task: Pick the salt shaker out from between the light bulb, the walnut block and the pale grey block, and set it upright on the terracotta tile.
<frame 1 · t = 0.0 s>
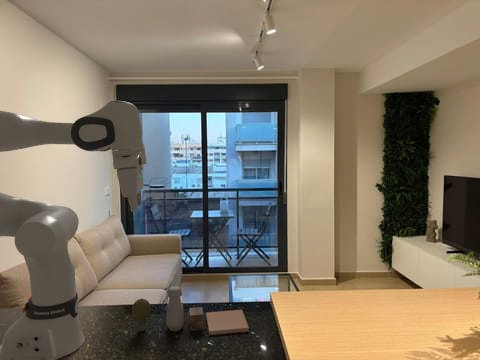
hand: (136, 208, 102), 39 cm above the countertop, tool pointing down, fingers open, 8 cm apart
pale grey block: (175, 314, 121), on the countertop
walnut block: (196, 326, 113), on the countertop
salt shaker: (175, 328, 112), on the countertop
light bulb: (142, 331, 110), on the countertop
terracotta tile: (226, 323, 114), on the countertop
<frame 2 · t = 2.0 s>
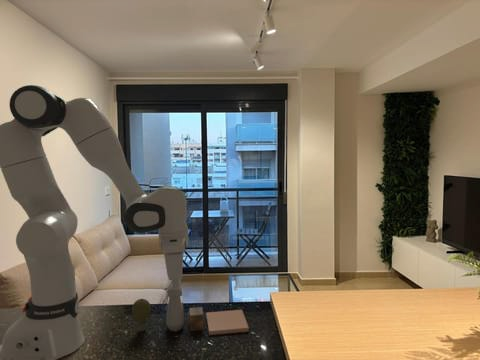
hand: (176, 283, 110), 14 cm above the countertop, tool pointing down, fingers open, 8 cm apart
nothing on the countertop moved.
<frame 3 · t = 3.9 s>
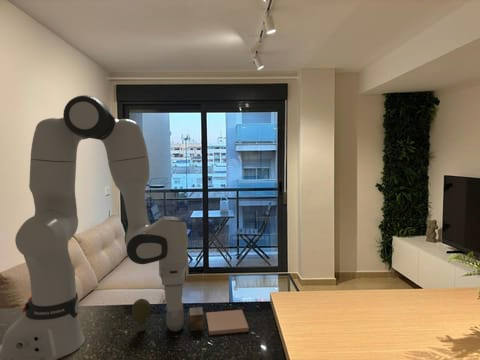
hand: (174, 312, 111), 5 cm above the countertop, tool pointing down, fingers closed on salt shaker, 3 cm apart
salt shaker: (175, 328, 112), on the countertop, touching gripper
everything else where it was.
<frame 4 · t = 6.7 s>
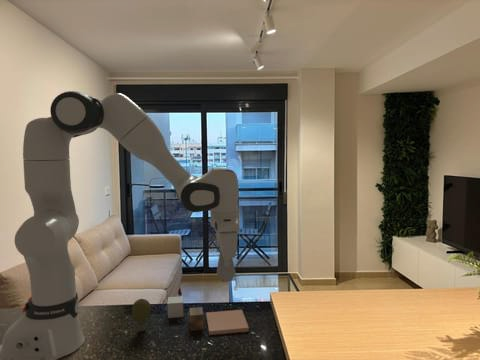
hand: (225, 263, 112), 20 cm above the countertop, tool pointing down, fingers closed on salt shaker, 3 cm apart
salt shaker: (226, 280, 113), point 14 cm above the countertop, touching gripper
everything else where it was.
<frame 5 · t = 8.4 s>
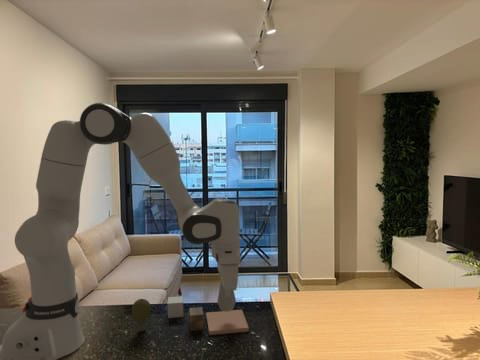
hand: (226, 292, 113), 10 cm above the countertop, tool pointing down, fingers closed on salt shaker, 3 cm apart
salt shaker: (226, 309, 114), point 5 cm above the countertop, touching gripper
everything else where it was.
when the fingers open (7 cm above the countertop, at t = 9.7 s): salt shaker stays where it is, resting on terracotta tile.
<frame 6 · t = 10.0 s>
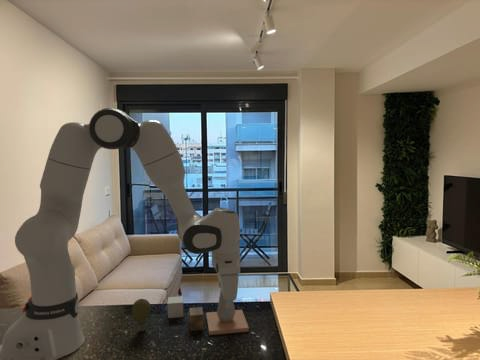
hand: (226, 302, 114), 7 cm above the countertop, tool pointing down, fingers open, 6 cm apart
salt shaker: (226, 320, 114), point 1 cm above the countertop, touching terracotta tile
everything else where it was.
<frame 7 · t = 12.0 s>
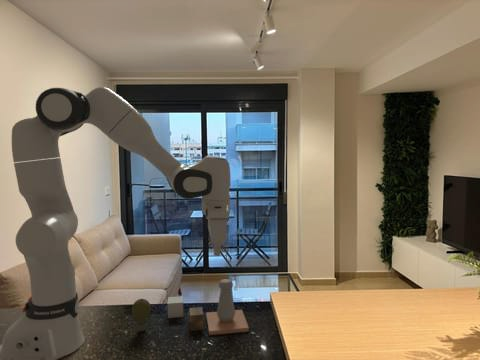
hand: (215, 250, 114), 23 cm above the countertop, tool pointing down, fingers open, 8 cm apart
nothing on the countertop moved.
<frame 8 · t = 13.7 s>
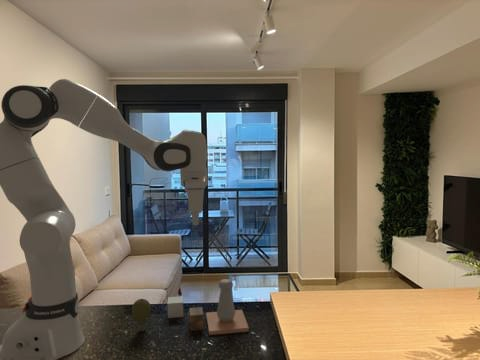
hand: (194, 221, 119), 31 cm above the countertop, tool pointing down, fingers open, 8 cm apart
nothing on the countertop moved.
at the end: salt shaker inside the target area on the terracotta tile (0.2 cm from its centre), point 1.0 cm above the terracotta tile's base; salt shaker tilted 0°; the gripper is holding nothing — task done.
